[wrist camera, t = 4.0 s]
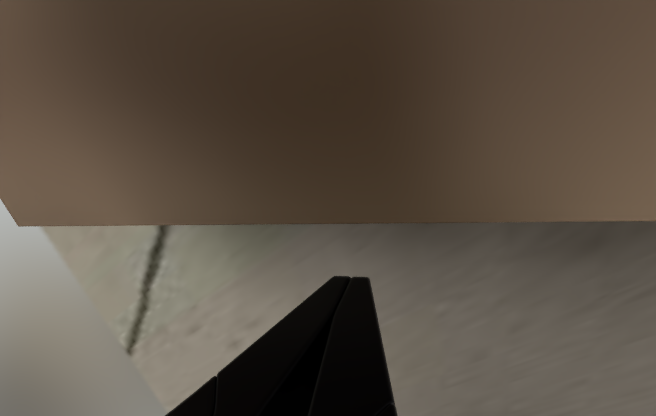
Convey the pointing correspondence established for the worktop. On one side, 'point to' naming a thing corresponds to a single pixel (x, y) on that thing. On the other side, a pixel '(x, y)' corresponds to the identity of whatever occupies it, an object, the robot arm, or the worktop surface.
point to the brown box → (327, 111)
